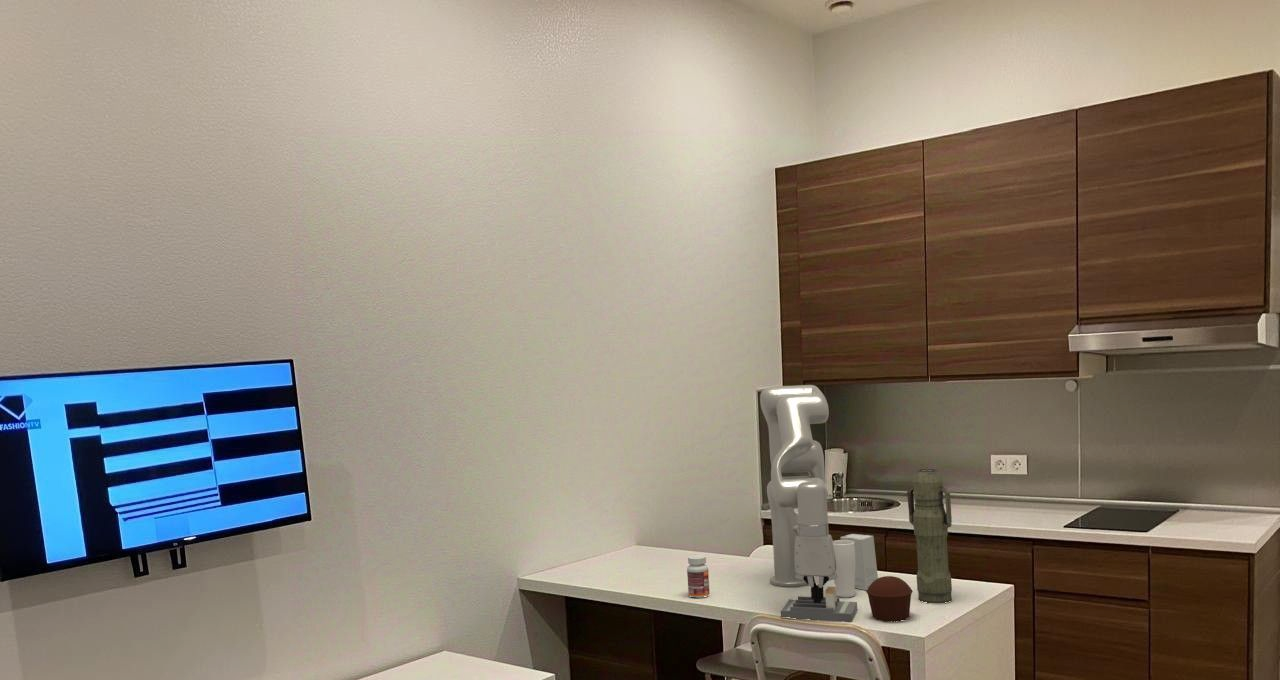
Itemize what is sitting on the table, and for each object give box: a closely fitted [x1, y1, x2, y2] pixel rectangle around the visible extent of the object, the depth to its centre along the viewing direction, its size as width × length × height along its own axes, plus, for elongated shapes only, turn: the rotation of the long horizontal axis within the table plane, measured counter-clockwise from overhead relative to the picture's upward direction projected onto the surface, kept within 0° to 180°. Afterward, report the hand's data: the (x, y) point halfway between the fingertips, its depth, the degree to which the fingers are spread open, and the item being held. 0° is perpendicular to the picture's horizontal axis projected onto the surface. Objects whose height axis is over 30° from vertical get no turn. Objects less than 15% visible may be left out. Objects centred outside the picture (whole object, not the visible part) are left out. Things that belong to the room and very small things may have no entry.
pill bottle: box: [686, 554, 711, 598], centre depth 265 cm, size 6×6×11 cm
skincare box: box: [840, 533, 879, 591], centre depth 266 cm, size 8×6×15 cm
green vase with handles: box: [906, 468, 953, 604], centre depth 248 cm, size 9×12×35 cm
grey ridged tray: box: [780, 583, 858, 623], centre depth 239 cm, size 12×18×7 cm, turn 70°
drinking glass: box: [833, 539, 856, 599], centre depth 257 cm, size 7×7×15 cm
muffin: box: [865, 575, 913, 623], centre depth 233 cm, size 12×11×10 cm
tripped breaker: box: [824, 588, 836, 611], centre depth 235 cm, size 2×2×5 cm
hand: (817, 601), depth 236 cm, fingers closed
